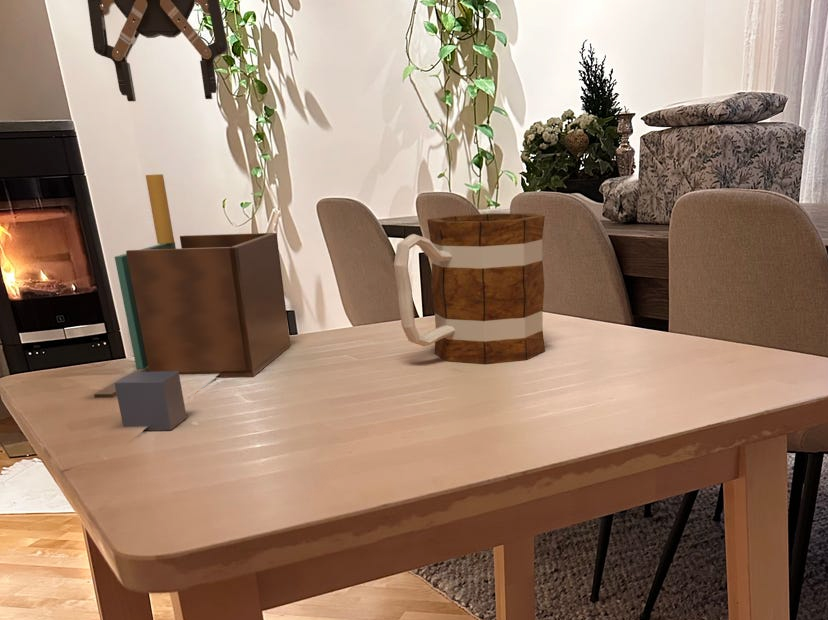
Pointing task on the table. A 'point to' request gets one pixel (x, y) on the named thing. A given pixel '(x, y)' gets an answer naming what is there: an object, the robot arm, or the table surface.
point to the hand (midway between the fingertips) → (170, 100)
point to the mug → (479, 287)
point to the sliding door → (164, 242)
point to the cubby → (210, 305)
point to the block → (151, 400)
